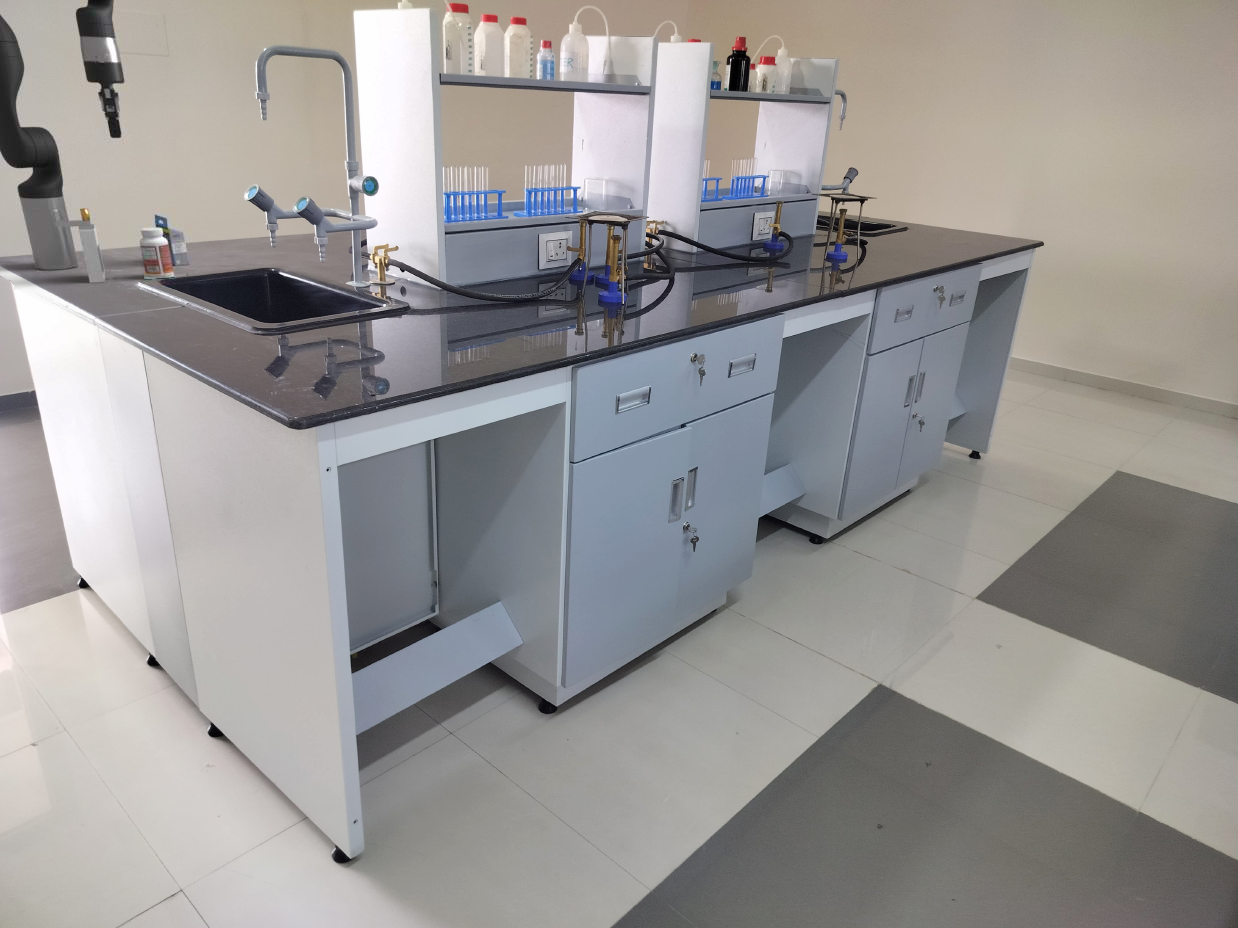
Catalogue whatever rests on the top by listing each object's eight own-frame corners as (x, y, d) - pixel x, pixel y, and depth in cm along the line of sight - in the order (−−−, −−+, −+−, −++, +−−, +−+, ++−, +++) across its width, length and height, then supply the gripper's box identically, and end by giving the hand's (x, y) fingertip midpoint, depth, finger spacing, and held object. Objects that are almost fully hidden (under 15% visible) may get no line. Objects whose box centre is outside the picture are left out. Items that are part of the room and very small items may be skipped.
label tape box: (190, 264, 227) (182, 216, 222) (174, 266, 224) (165, 218, 219) (176, 260, 233) (168, 213, 228) (161, 261, 230) (152, 214, 225)
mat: (144, 275, 213) (144, 273, 213) (173, 273, 216) (173, 271, 216) (144, 280, 208) (144, 278, 208) (174, 278, 211) (174, 276, 210)
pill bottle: (170, 271, 216) (162, 226, 211) (176, 275, 211) (168, 229, 207) (142, 274, 212) (134, 228, 208) (149, 278, 208) (140, 231, 203)
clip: (56, 226, 199) (52, 209, 197) (91, 225, 202) (88, 208, 200) (55, 227, 198) (51, 210, 196) (91, 226, 201) (87, 209, 199)
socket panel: (91, 275, 210) (80, 222, 205) (105, 275, 212) (94, 221, 207) (89, 282, 203) (78, 227, 198) (105, 281, 204) (93, 226, 199)
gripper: (84, 60, 198) (98, 135, 204) (81, 59, 187) (96, 138, 193) (121, 61, 201) (134, 135, 208) (120, 60, 190) (134, 139, 196)
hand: (116, 137), depth 200 cm, fingers open, 8 cm apart
